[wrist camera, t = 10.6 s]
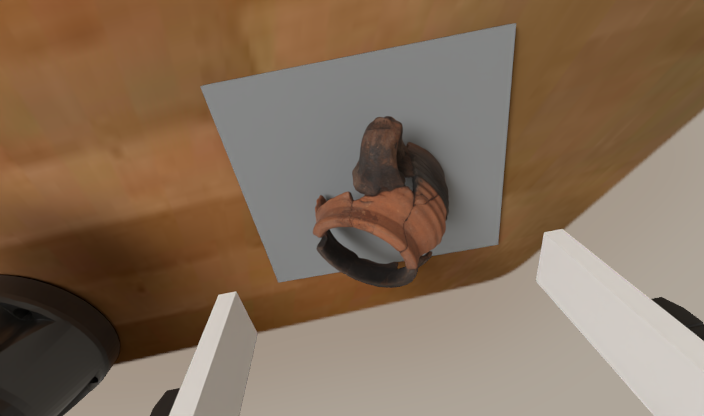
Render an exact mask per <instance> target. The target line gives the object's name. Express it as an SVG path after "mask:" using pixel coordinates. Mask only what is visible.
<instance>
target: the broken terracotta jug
mask: <svg viewBox="0 0 704 416" xmlns="http://www.w3.org/2000/svg"><path fill="white" fill-rule="evenodd" d="M402 135H403V126H402V123H401V122H399V121H397V120H395V119H394V118H393V117H390V116H385V117H377V118H375V119H374V121H372V122H371V123H370V124H369V125H368V126H367V128H366V130H365V132H364V135H363V138H362V141H361V148H360V157H359V160H358V162H357V164H356V166H355V168H354V169H353V171H352V176H353V186H354V188H355V190H356V191H358V192H359V193H361V194H364V196H363V197H361V198H360V199H357V200H353V197H352V194H351V192H349V191H347V192H344V193H342V194H340V195H338V196H336V197H334V198H331V199H329V200H328V201H326V199H325V198H324V197H323V196H322V195H320V196H319V198H318V199H317V201H316V203H317V204H316V207H315V216H316V224H315V226H314V228H313V234H314V235H315V236H317V237H318V238H322V239H321V240H320V242H319V243H318V245H317V248H316V249H317V251H318V253H319V254H320V255H321V256H322V257H323V258H324V259H325V260H326V261H327V262H328V263H329V264H330V265H331V266H333V267H334V268H335V269H337V270H338V271H340V272H342V273H344V274H346V275H348V276H349V277H351V278H353V279H355V280H358V281H361V282H363V283H366V284H370V285H374V286H377V287H390V288H392V287H401V286H403V285H407V284H409V283H410V282H412V281H413V279H414V278H415V277H416V274H417V272H418V268H419V267H420V266H422V265H423V264H424V263H426V262H427V261H428V260H429V259H430V258H431V257H432V251H430V250H432V249H434V248H435V247H436V246H437V245H438V244H440V243H441V240H442V237H443V235H444V233H445V230H446V223H445V222H446V220H447V216H448V214H449V208H448V207H449V200H448V199H449V195H448V187H447V185H446V182H445V174H444V171H443V169H442V167H441V165H440V163H439V162H438V161H437V160H436V158H435V157H434V156H433V155H432V154H431V153H430V152H429V151H427V150H426V149H424V148H422V147H420V146H418V145H416V144H414V143H411V142H408V143H407V145H406V146H405V144H404V142H403V140H402ZM409 177H411V178H412V184H413V186H412V187H413V191H412V190H411V189H410V188H409V187H408V186H406V185H405V182H406V179H405V178H409ZM336 227H354V228H357V229H360V230H363V231H366V232H368V233H371V234H373V235H375V236H377V237H379V238H381V239H382V240H384V241H386V242H387V243H389V244H390V245H391V246H392V247H394V248H395V249H396V250H397V251H399V253H400V255H401V256H402V257H403V259H404V261H405V265H406V267H403V268H400V269H397V266H398V262H391V263H388V264H382V263H376V262H373V261H371V260H368V259H364V258H359V257H358V255H357V254H356V253H354V252H353V251H351V250H349V249H348V248H346V247H344V246H343V245H342V244H340V243H339V242H338V241H337V240H336V238H335V237H334V236H333V234H332V233H331V231H330V229H332V228H336ZM425 253H426V254H425ZM423 254H425V255H423ZM422 255H423V256H422Z"/></svg>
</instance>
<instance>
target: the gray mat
mask: <svg viewBox="0 0 704 416" xmlns="http://www.w3.org/2000/svg"><path fill="white" fill-rule="evenodd" d="M515 31H516V23H515V24H508V25H503V26H498V27H493V28H488V29H483V30H478V31H473V32H468V33H463V34H458V35H453V36H448V37H443V38H438V39H433V40H428V41H423V42H418V43H413V44H408V45H403V46H398V47H393V48H388V49H383V50H378V51H373V52H368V53H363V54H358V55H353V56H347V57H342V58H337V59H332V60H327V61H322V62H317V63H312V64H307V65H302V66H297V67H292V68H287V69H282V70H277V71H272V72H267V73H262V74H257V75H252V76H247V77H242V78H237V79H232V80H227V81H222V82H217V83H212V84H207V85H203V86H200V87H201V89H202V92H203V94H204V97H205V99H206V102H207V104H208V107H209V109H210V112H211V114H212V117H213V119H214V122H215V124H216V127H217V130H218V132H219V135H220V137H221V140H222V142H223V145H224V147H225V150H226V152H227V155H228V157H229V160H230V162H231V165H232V167H233V170H234V172H235V175H236V177H237V180H238V182H239V185H240V187H241V190H242V192H243V195H244V197H245V200H246V202H247V205H248V207H249V210H250V212H251V215H252V217H253V220H254V222H255V225H256V227H257V230H258V232H259V235H260V237H261V240H262V242H263V245H264V247H265V250H266V252H267V255H268V257H269V260H270V262H271V265H272V267H273V270H274V272H275V275H276V277H277V280H278V282H284V281H290V280H296V279H302V278H307V277H313V276H319V275H325V274H330V273H336V272H340V271H338V270H337V269H335V268H334V267H333V266H331V265H330V264H329V263H328V262H327V261H326V260H325V259H324V258H323V257H322V256H321V255H320V254H319V253H318V251H317V249H316V248H317V245H318V243H319V242H320V240H321V239H322V238H318V237H317V236H315V235H314V234H313V228H314V226H315V224H316V216H315V207H316V204H317V203H316V201H317V199H318V198H319V196H320V195H322V196H323V197H324V198H325V199H326V201H328V200H329V199H331V198H334V197H336V196H338V195H340V194H342V193H344V192H347V191H349V192H351V194H352V197H353V200H357V199H360V198H361V197H363V196H364V194H361V193H359V192H358V191H356V190H355V188H354V186H353V176H352V171H353V169H354V168H355V166H356V164H357V162H358V160H359V157H360V148H361V141H362V138H363V135H364V132H365V130H366V128H367V126H368V125H369V124H370V123H371V122H372V121H374V119H375V118H377V117H385V116H390V117H393V118H394V119H395V120H397V121H399V122H401V123H402V126H403V135H402V140H403V142H404V144H405V146H406V145H407V143H408V142H411V143H414V144H416V145H418V146H420V147H422V148H424V149H426V150H427V151H429V152H430V153H431V154H432V155H433V156H434V157H435V158H436V160H437V161H438V162H439V163H440V165H441V167H442V169H443V171H444V174H445V182H446V185H447V187H448V195H449V199H448V200H449V207H448V208H449V214H448V216H447V220H446V222H445V223H446V230H445V233H444V235H443V237H442V240H441V243H440V244H438V245H437V246H436V247H435V248H434V249H432V250H430V251H432V256H435V255H440V254H446V253H452V252H458V251H464V250H469V249H475V248H481V247H487V246H493V245H498V240H499V227H500V215H501V203H502V190H503V178H504V166H505V154H506V141H507V129H508V117H509V104H510V92H511V80H512V68H513V55H514V43H515ZM405 179H406V182H405V185H406V186H408V187H409V188H410V189H411V190H412V191H413V187H412V186H413V184H412V178H411V177H409V178H405ZM330 231H331V233H332V234H333V236H334V237H335V238H336V240H337V241H338V242H339V243H340V244H342V245H343V246H344V247H346V248H348V249H349V250H351V251H353V252H354V253H356V254H357V255H358V257H359V258H364V259H368V260H371V261H373V262H376V263H382V264H388V263H391V262H400V261H404V259H403V257H402V256H401V255H400V253H399V251H397V250H396V249H395V248H394V247H392V246H391V245H390V244H389V243H387V242H386V241H384V240H382V239H381V238H379V237H377V236H375V235H373V234H371V233H368V232H366V231H363V230H360V229H357V228H354V227H336V228H332V229H330ZM425 254H426V253H425ZM425 254H423V255H425ZM423 255H422V256H423Z"/></svg>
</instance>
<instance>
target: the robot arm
mask: <svg viewBox="0 0 704 416" xmlns="http://www.w3.org/2000/svg"><path fill="white" fill-rule="evenodd" d="M536 282H537V283H538V284H539V285H540V287H541V288H542V289H543V290H544V291H545V292H546V293H547V294H548V295H549V297H550V298H551V299H552V300H553V301H554V302H555V304H556V305H557V306H558V307H559V308H560V309H561V310H562V312H563V313H564V314H565V315H566V316H567V317H568V318H569V319H570V321H571V322H572V323H573V324H574V325H575V326H576V327H577V328H578V330H579V331H580V332H581V333H582V334H583V335H584V337H585V338H586V339H587V340H588V341H589V342H590V343H591V345H592V346H593V347H594V348H595V349H596V350H597V351H598V352H599V354H600V355H601V356H602V357H603V358H604V359H605V360H606V362H607V363H608V364H609V365H610V366H611V367H612V368H613V370H614V371H615V372H616V373H617V374H618V375H619V376H620V378H621V379H622V380H623V381H624V382H625V383H626V384H627V386H628V387H629V388H630V389H631V390H632V391H633V392H634V393H635V395H636V396H637V397H638V398H639V399H640V400H641V401H642V403H643V404H644V405H645V406H646V407H647V408H648V409H649V411H651V413H652V414H653V415H654V416H704V324H703V322H702V321H701V320H699V319H698V318H696V317H695V316H694V315H693V314H691V313H690V312H689V311H687V310H686V309H684V308H683V307H681V306H679V305H676V304H675V303H673V302H670V301H668V300H666V299H664V298H662V297H659V298H654V299H650V298H649V297H648V296H646V295H645V294H644V293H642V292H641V291H640V290H639V289H637V288H636V287H635V286H634V285H632V284H631V283H630V282H628V281H627V280H626V279H625V278H624V277H622V276H621V275H620V274H618V273H617V272H616V271H615V270H613V269H612V268H611V267H610V266H608V265H607V264H606V263H605V262H603V261H602V260H601V259H600V258H598V257H597V256H596V255H595V254H593V253H592V252H591V251H590V250H588V249H587V248H586V247H584V246H583V245H582V244H580V243H579V242H578V241H577V240H576V239H574V238H573V237H572V236H571V235H569V234H568V233H567V232H566V231H564V230H563V229H560V230H554V231H549V232H544V236H543V242H542V248H541V254H540V259H539V265H538V271H537V277H536ZM257 334H258V333H257V331H256V329H255V328H254V326H253V324H252V322H251V320H250V318H249V316H248V314H247V312H246V310H245V308H244V306H243V304H242V302H241V300H240V298H239V296H238V294H237V292H231V293H226V294H220V295H218V297H217V300H216V302H215V305H214V307H213V310H212V312H211V315H210V317H209V319H208V322H207V324H206V327H205V329H204V332H203V334H202V336H201V339H200V341H199V344H198V346H197V349H196V351H195V353H194V356H193V358H192V361H191V363H190V366H189V368H188V371H187V373H186V375H185V378H184V381H183V383H182V385H181V388H178V389H173V390H168V391H166V392H165V394H164V395H163V396H162V398H161V399H160V400H159V402H158V403H157V404H156V405H155V407H154V408H153V410H152V412H151V415H150V416H239V414H240V410H241V406H242V401H243V397H244V392H245V388H246V383H247V379H248V374H249V370H250V366H251V361H252V357H253V352H254V347H255V343H256V339H257ZM119 351H120V343H119V339H118V336H117V334H116V332H115V330H114V328H113V327H112V325H111V324H110V323H109V321H108V320H107V319H106V318H105V317H104V316H103V315H102V314H101V313H100V312H99V311H97V310H96V309H95V308H94V307H92V306H91V305H89V304H88V303H87V302H85V301H83V300H82V299H80V298H78V297H77V296H75V295H73V294H71V293H69V292H67V291H64V290H62V289H60V288H57V287H55V286H52V285H49V284H46V283H43V282H40V281H36V280H32V279H27V278H22V277H16V276H7V275H0V416H63V415H64V414H65V413H67V412H68V411H69V410H70V409H71V408H72V407H74V406H75V405H76V404H77V403H78V402H79V401H80V400H81V399H83V398H84V397H85V396H86V395H87V394H88V393H89V392H90V391H92V390H93V389H94V388H95V387H96V386H97V385H98V384H99V383H100V382H101V381H102V380H103V379H104V377H105V376H106V374H107V372H108V371H109V370H110V368H111V367H112V366H113V364H114V363H115V361H116V360H117V358H118V355H119Z"/></svg>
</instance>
